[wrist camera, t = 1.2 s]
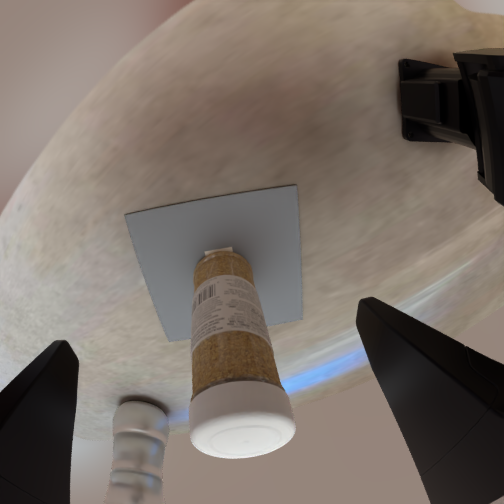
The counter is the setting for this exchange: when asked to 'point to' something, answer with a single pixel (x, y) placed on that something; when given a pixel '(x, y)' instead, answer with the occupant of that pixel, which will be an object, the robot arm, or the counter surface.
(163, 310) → the mat
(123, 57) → the counter surface
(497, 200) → the robot arm
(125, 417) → the plastic bottle
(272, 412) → the sprinkles bottle
